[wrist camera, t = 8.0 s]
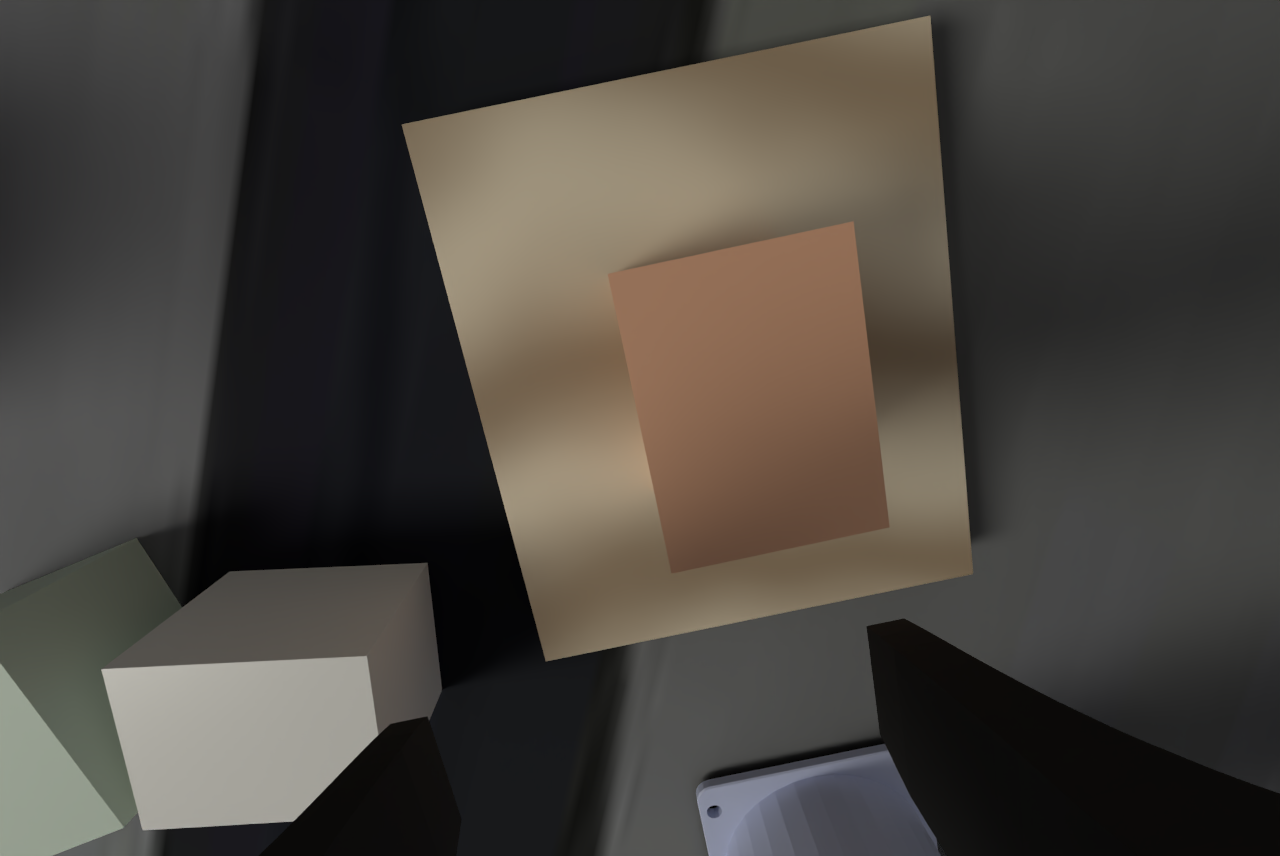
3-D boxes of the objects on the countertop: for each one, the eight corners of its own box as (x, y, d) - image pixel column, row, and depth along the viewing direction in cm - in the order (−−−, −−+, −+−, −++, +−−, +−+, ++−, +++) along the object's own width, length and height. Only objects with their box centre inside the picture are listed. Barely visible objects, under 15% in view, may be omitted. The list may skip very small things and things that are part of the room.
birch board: (946, 552, 20) (972, 573, 18) (550, 633, 20) (546, 661, 18) (901, 39, 16) (930, 15, 15) (420, 138, 16) (401, 124, 15)
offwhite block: (428, 561, 19) (366, 656, 14) (442, 687, 20) (389, 815, 15) (231, 570, 19) (101, 668, 14) (256, 697, 20) (142, 830, 15)
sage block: (242, 695, 20) (124, 827, 15) (119, 744, 20) (-37, 890, 15) (138, 536, 19) (-28, 626, 14) (7, 590, 19) (-203, 697, 14)
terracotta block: (811, 458, 17) (889, 527, 12) (654, 491, 17) (671, 573, 12) (779, 239, 16) (853, 221, 11) (608, 276, 16) (607, 273, 11)
